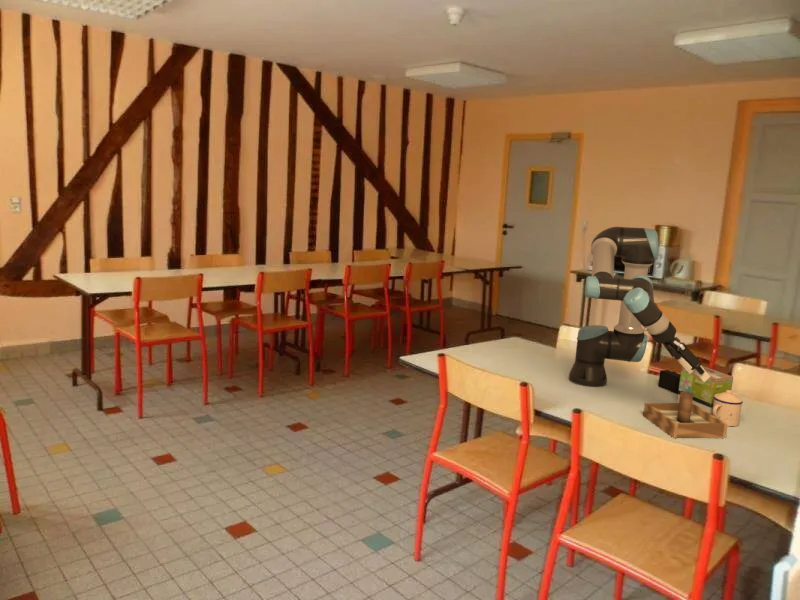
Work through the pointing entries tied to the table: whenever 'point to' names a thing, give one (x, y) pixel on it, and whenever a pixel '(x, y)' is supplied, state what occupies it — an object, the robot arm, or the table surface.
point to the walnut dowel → (685, 407)
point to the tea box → (704, 387)
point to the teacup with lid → (727, 407)
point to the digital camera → (669, 380)
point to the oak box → (697, 428)
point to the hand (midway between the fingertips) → (699, 375)
